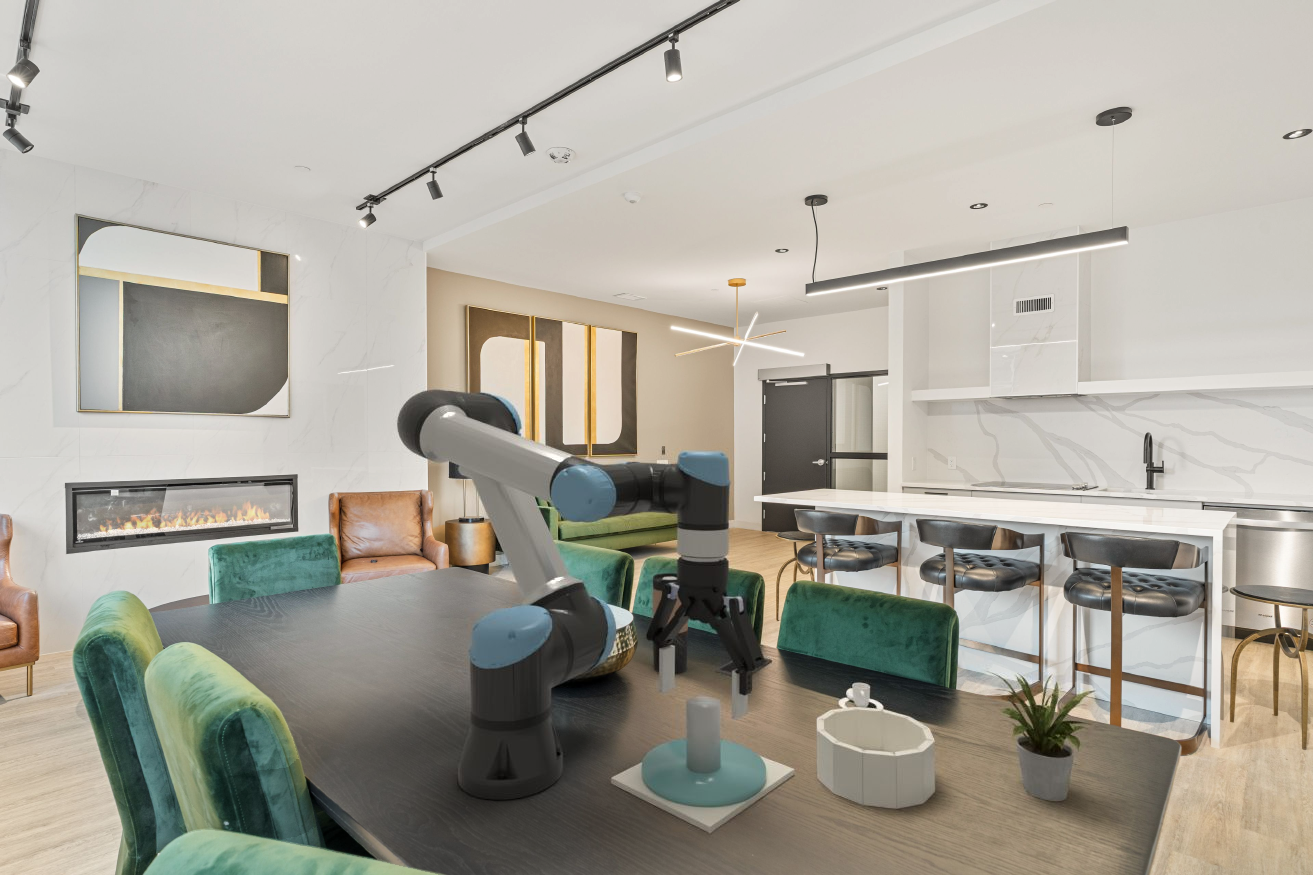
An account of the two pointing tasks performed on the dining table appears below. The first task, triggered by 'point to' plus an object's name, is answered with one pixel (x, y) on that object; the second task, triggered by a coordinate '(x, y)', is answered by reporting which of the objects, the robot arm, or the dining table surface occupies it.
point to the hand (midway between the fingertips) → (701, 702)
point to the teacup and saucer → (859, 696)
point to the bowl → (875, 757)
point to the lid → (703, 763)
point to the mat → (700, 816)
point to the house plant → (1044, 743)
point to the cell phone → (731, 666)
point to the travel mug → (682, 636)
